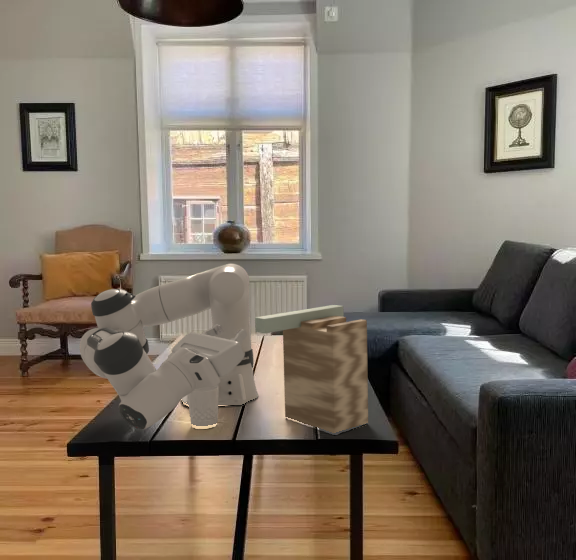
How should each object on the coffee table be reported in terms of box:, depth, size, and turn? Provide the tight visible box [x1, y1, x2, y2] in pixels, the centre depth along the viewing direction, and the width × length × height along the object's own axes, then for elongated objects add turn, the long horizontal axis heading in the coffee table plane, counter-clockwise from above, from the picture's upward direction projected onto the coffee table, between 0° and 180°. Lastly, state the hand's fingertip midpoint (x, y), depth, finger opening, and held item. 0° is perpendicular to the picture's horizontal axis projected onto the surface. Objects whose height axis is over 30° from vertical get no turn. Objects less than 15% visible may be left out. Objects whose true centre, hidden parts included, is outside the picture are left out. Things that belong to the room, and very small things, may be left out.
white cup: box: [188, 385, 219, 426], centre depth 157 cm, size 8×8×10 cm
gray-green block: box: [254, 304, 345, 334], centre depth 157 cm, size 27×4×4 cm, turn 131°
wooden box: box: [282, 316, 369, 433], centre depth 157 cm, size 12×18×26 cm, turn 41°
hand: (232, 329), depth 140 cm, fingers open, 8 cm apart
